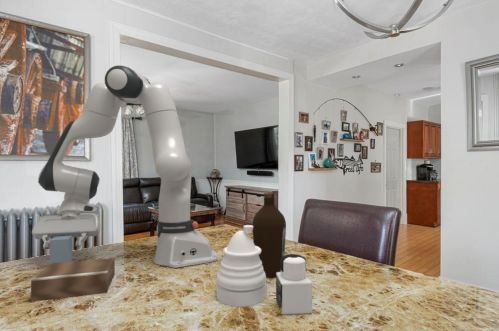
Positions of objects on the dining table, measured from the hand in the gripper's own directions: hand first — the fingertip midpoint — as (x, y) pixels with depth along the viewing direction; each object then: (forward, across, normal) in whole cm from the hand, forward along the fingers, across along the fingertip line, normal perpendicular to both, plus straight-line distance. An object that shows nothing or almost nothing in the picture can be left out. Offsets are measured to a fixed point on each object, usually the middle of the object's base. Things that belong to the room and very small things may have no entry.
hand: (62, 247), depth 95 cm
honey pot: (+30, +53, -20) cm, 64 cm away
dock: (+18, +10, -8) cm, 22 cm away
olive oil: (+20, +65, -10) cm, 69 cm away
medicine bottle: (+36, +64, -27) cm, 78 cm away
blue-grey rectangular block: (+5, 0, +4) cm, 7 cm away
